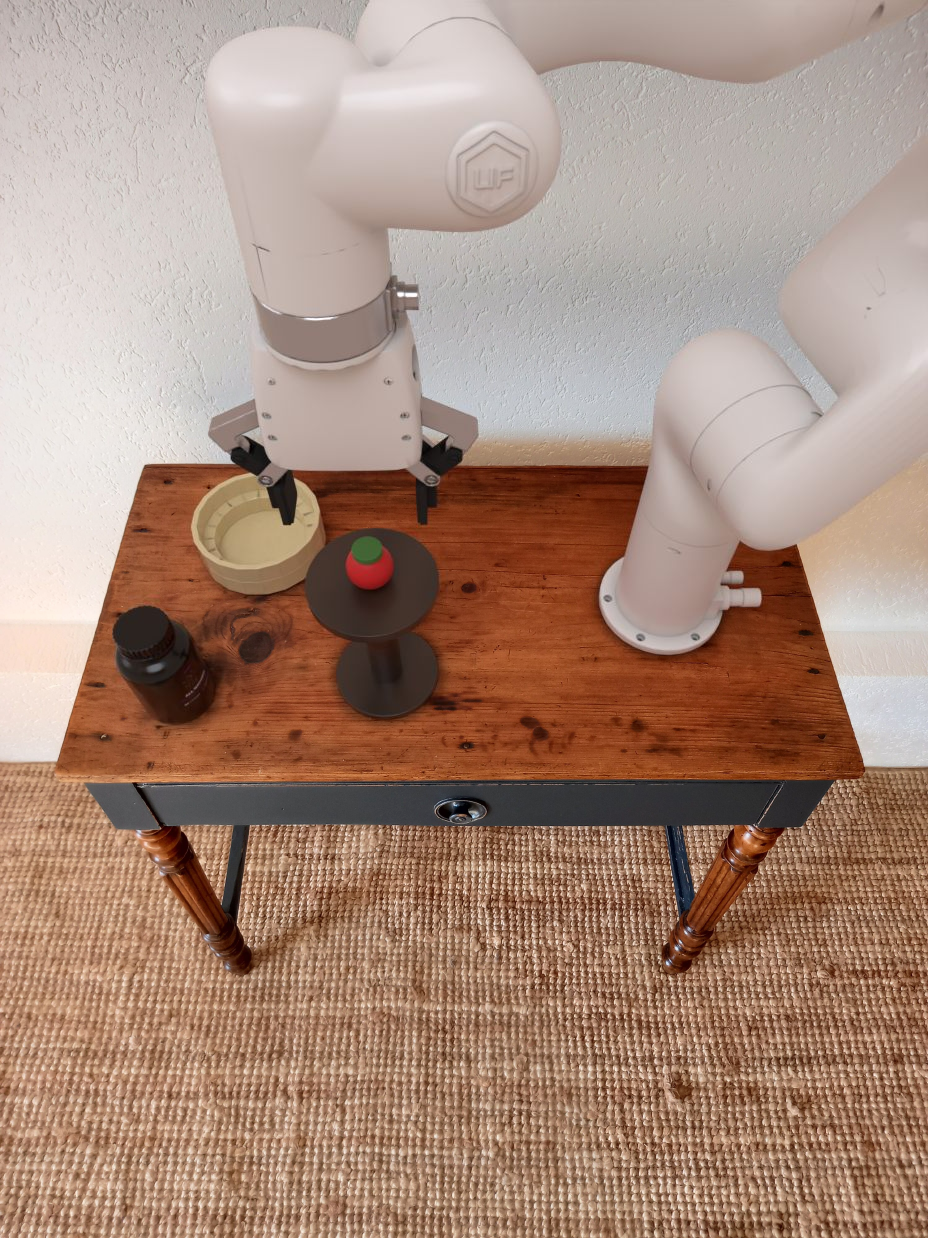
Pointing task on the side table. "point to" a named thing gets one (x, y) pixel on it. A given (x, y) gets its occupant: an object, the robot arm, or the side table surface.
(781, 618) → the side table surface
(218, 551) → the bowl
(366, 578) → the tomato
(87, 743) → the side table surface
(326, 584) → the cake stand
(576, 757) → the side table surface
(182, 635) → the supplement bottle
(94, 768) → the side table surface
